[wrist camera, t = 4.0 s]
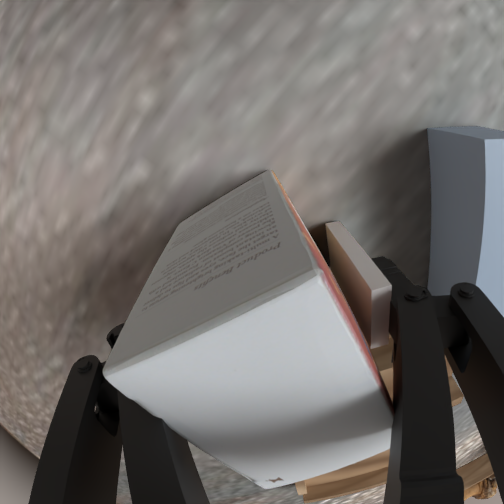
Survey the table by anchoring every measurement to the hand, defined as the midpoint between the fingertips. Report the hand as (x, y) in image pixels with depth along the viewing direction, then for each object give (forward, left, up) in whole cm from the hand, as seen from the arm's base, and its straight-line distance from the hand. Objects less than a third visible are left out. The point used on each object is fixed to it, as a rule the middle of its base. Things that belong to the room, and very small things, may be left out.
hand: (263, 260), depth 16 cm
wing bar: (0, +12, -1) cm, 12 cm away
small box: (0, 0, -1) cm, 1 cm away
